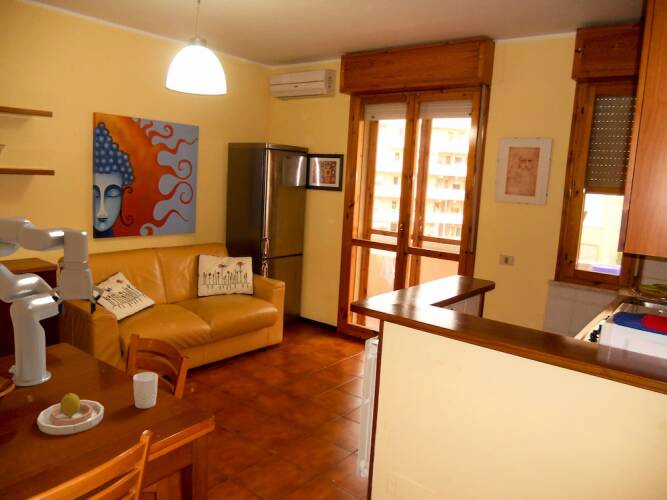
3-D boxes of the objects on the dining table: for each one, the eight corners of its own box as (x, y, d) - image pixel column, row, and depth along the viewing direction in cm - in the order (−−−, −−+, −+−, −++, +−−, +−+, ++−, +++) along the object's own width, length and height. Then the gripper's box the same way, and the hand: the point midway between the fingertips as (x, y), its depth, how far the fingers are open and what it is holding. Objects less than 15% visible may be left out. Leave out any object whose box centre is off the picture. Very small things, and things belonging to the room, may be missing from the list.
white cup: (162, 401, 172) (162, 374, 171) (147, 411, 165) (147, 382, 163) (144, 397, 174) (144, 370, 173) (128, 406, 167) (127, 378, 166)
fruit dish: (24, 429, 149) (23, 420, 149) (68, 403, 167) (67, 395, 166) (75, 439, 146) (75, 429, 145) (115, 411, 163) (115, 403, 163)
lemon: (84, 413, 159) (83, 390, 157) (73, 422, 153) (72, 397, 152) (67, 412, 159) (67, 388, 158) (56, 420, 154) (55, 396, 152)
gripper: (45, 268, 165) (46, 317, 167) (102, 267, 170) (102, 316, 172) (50, 263, 172) (52, 311, 174) (105, 263, 177) (105, 310, 179)
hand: (77, 313), depth 173 cm, fingers open, 9 cm apart
